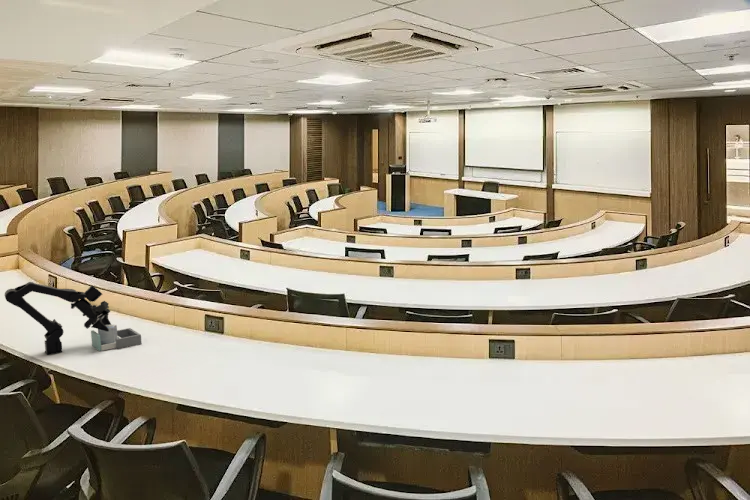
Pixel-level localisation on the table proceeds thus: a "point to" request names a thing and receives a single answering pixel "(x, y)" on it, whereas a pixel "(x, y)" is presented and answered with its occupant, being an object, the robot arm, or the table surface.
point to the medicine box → (108, 334)
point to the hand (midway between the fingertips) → (110, 329)
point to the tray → (97, 342)
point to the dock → (127, 338)
